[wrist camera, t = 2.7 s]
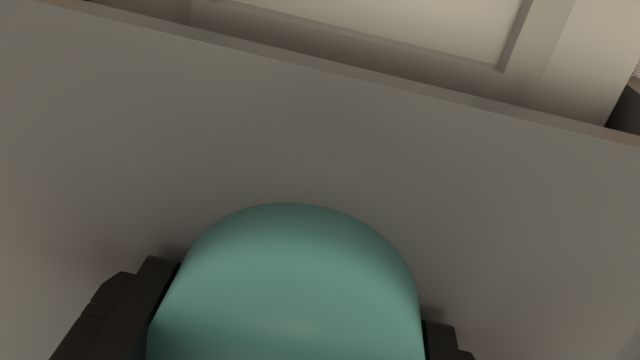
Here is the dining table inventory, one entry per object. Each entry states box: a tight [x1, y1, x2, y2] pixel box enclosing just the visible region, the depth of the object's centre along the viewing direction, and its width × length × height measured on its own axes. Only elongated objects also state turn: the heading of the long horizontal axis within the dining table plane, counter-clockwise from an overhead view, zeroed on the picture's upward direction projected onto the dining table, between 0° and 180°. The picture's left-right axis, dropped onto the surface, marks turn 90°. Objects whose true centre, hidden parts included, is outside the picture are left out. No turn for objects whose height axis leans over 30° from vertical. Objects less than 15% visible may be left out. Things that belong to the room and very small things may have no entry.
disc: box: [145, 202, 425, 360], centre depth 12 cm, size 6×6×2 cm
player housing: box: [0, 0, 640, 360], centre depth 16 cm, size 12×18×7 cm, turn 78°
